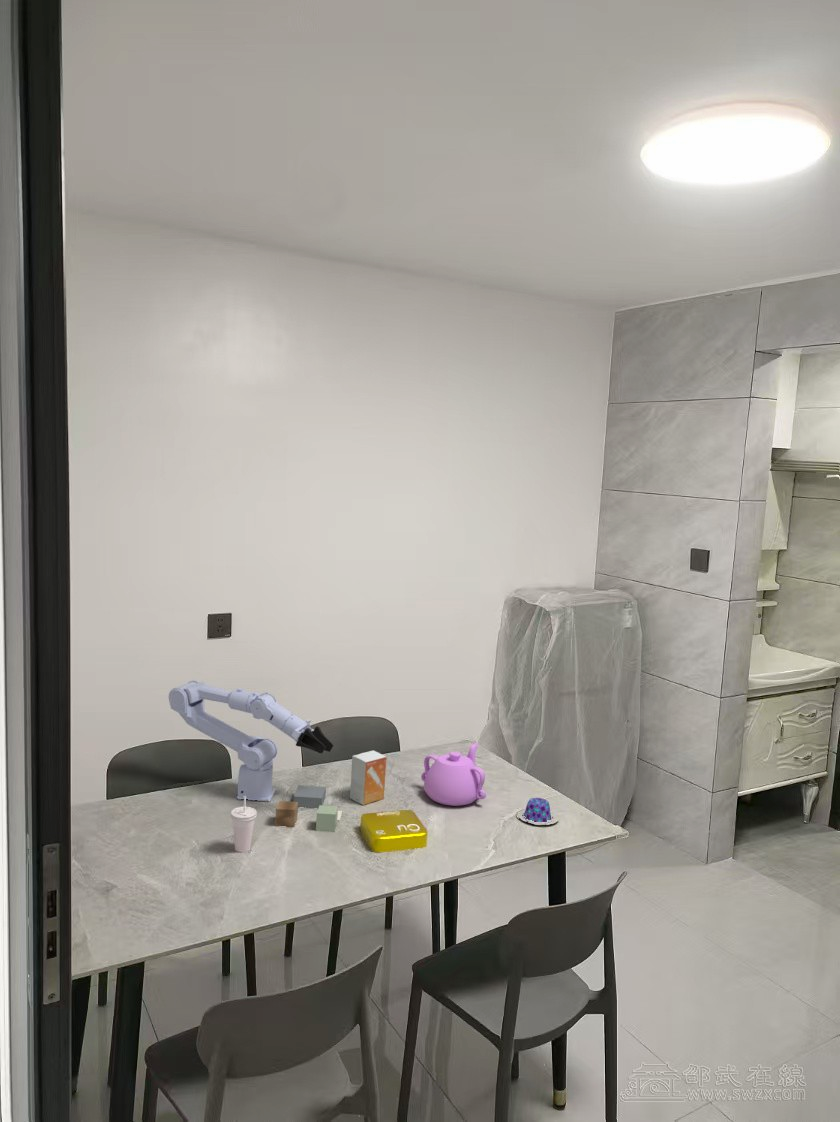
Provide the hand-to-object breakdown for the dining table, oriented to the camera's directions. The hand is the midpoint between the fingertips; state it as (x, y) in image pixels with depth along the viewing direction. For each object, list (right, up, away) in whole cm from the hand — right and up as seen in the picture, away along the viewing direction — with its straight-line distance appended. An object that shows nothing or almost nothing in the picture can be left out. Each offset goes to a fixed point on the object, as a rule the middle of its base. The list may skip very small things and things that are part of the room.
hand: (327, 749), depth 233 cm
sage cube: (+1, -19, -9) cm, 21 cm away
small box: (+10, -17, +11) cm, 23 cm away
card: (+1, -18, -2) cm, 18 cm away
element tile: (+18, -21, -12) cm, 30 cm away
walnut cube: (-10, -18, -7) cm, 22 cm away
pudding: (+59, -21, +5) cm, 63 cm away
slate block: (-6, -17, +6) cm, 19 cm away
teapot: (+36, -18, +17) cm, 44 cm away
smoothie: (-19, -20, -23) cm, 36 cm away
